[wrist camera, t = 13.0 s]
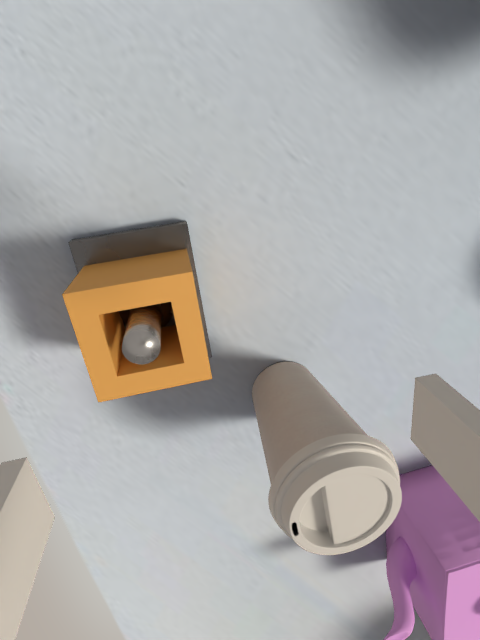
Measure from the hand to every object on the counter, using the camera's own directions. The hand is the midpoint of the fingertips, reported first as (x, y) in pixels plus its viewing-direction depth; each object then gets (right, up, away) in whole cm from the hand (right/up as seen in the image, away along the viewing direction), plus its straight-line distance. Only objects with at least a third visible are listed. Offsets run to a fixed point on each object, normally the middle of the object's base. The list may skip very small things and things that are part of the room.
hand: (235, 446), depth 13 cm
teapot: (+24, -21, +37) cm, 49 cm away
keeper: (-8, +6, +20) cm, 22 cm away
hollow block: (-7, +6, +19) cm, 21 cm away
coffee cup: (+5, -3, +26) cm, 27 cm away
